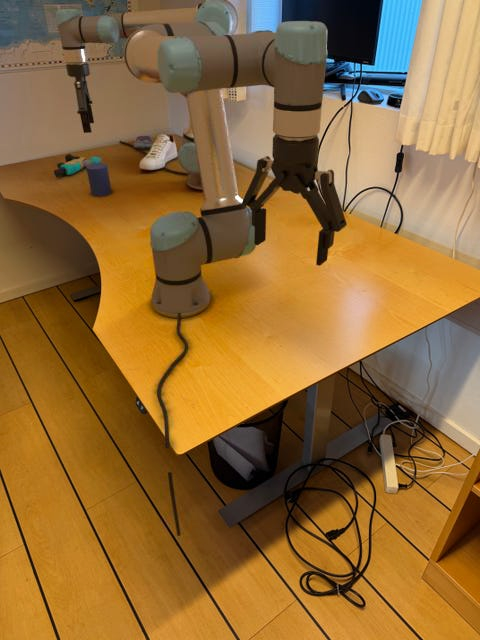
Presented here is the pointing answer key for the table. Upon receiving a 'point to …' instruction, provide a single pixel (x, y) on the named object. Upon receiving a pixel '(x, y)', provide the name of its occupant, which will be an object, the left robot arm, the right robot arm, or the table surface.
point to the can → (99, 179)
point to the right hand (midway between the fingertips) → (89, 127)
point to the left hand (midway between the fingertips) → (289, 252)
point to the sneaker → (160, 153)
